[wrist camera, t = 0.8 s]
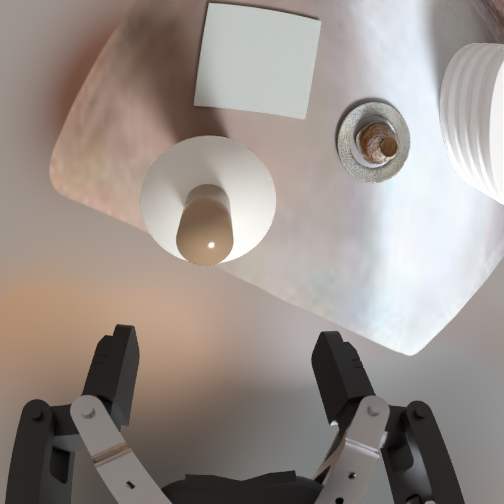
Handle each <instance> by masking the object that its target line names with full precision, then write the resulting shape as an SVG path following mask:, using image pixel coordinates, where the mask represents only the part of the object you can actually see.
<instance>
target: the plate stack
mask: <svg viewBox="0 0 504 504" xmlns="http://www.w3.org/2000/svg"><path fill="white" fill-rule="evenodd" d="M439 118H440V128H441V134H442V139H443V143H444V147H445V150H446V153H447V156H448V158H449V160H450V162H451V164H452V166H453V168H454V169H455V171H456V172H457V174H458V175H459V176H460V177H461V178H462V179H463V180H464V181H465V182H467V183H468V184H470V185H472V186H473V187H475V188H477V189H479V190H480V191H482V192H484V193H485V194H487V195H488V196H490V197H492V198H494V199H495V200H496V201H498V202H500V203H501V204H503V205H504V44H493V43H471V44H468V45H465V46H463V47H462V48H460V49H459V50H458V51H457V52H456V53H455V54H454V56H453V57H452V58H451V60H450V62H449V64H448V66H447V68H446V71H445V73H444V77H443V80H442V85H441V91H440V101H439Z"/></svg>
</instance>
